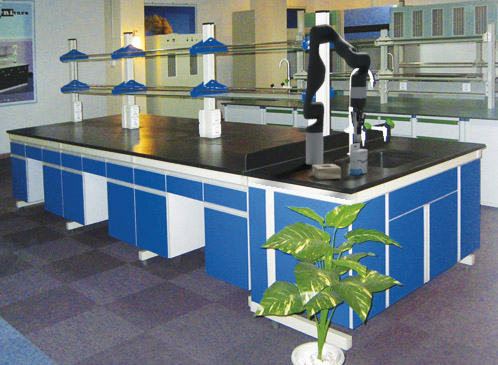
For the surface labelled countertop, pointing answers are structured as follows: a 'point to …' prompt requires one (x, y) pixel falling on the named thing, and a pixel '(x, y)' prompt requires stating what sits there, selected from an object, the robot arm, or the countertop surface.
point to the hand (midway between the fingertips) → (357, 133)
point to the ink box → (358, 159)
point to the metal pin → (356, 137)
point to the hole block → (326, 171)
